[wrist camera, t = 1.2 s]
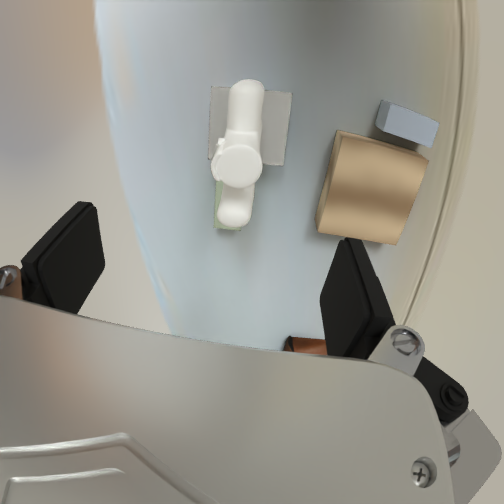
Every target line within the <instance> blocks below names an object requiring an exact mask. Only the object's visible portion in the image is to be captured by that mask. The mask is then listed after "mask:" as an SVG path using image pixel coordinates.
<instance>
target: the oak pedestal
mask: <svg viewBox="0 0 504 504" xmlns="http://www.w3.org/2000/svg"><path fill="white" fill-rule="evenodd" d="M428 162H429V161H428V160H427V159H425V158H424V157H423V156H422V155H420V154H419V153H418V152H416V151H412V150H409V149H406V148H403V147H400V146H396V145H393V144H390V143H386V142H383V141H379V140H375V139H372V138H368V137H364V136H360V135H356V134H352V133H348V132H344V131H340V130H337V132H336V136H335V141H334V145H333V149H332V153H331V157H330V161H329V165H328V169H327V173H326V177H325V181H324V185H323V189H322V193H321V197H320V201H319V204H318V208H317V212H316V215H315V222H316V227H317V231H318V232H320V233H326V234H332V235H338V236H344V237H350V238H356V239H362V240H368V241H374V242H379V243H385V244H391V245H396V244H397V242H398V240H399V237H400V235H401V233H402V230H403V228H404V226H405V223H406V221H407V218H408V216H409V213H410V211H411V208H412V206H413V203H414V201H415V198H416V195H417V193H418V190H419V187H420V185H421V182H422V179H423V176H424V173H425V170H426V168H427V165H428Z"/></svg>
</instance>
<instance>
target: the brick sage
mask: <svg viewBox="0 0 504 504" xmlns="http://www.w3.org/2000/svg"><path fill="white" fill-rule="evenodd" d="M223 184H224V183H223V182H222V181H216V192H215V211H214V228H220V229H229V230H237V231H240V230H241V227H237V228H233V227H228V226H225V225H223V224H221V223H220V222H219V220H218V218H217V210H218V207H219V204H220V200H221V195H222V190H223Z"/></svg>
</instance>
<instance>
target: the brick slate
mask: <svg viewBox="0 0 504 504" xmlns="http://www.w3.org/2000/svg"><path fill="white" fill-rule="evenodd" d="M375 126H377V127H378V128H380V129H381V130H382V131H384V132H387V133H390V134H393V135H396V136H399V137H402V138H405V139H408V140H411V141H413V142H416V143H419V144H421V145H424V146H427V147H429V148H432V145H433V142H434V139H435V136H436V133H437V129H438V126H439V122H437V121H435V120H433V119H431V118H429V117H426V116H424V115H422V114H419V113H417V112H414V111H412V110H409V109H406V108H404V107H401V106H398V105H396V104H393V103H390V102H387V101H384V100H381V104H380V107H379V111H378V115H377V118H376V122H375Z"/></svg>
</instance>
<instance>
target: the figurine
mask: <svg viewBox="0 0 504 504" xmlns="http://www.w3.org/2000/svg"><path fill="white" fill-rule="evenodd" d="M291 101H292V93H288V92H279V91H270V90H264V86H263V84H262V83H260V82H259V81H256V80H252V79H245V80H241V81H239V82H237V83H236V84H234V85H233V86H232V87H211V100H210V122H209V148H208V159H209V160H212V162H211V172H212V175H213V177H214V179H215V180H216V181H222V182H223V183H224V184H223V190H222V195H221V200H220V204H219V207H218V210H217V218H218V220H219V222H220V223H221V224H223V225H225V226H228V227H233V228H237V227H242V226H245V225H246V224H247V223H248V222H249V221H250V218H251V213H252V206H253V200H254V192H255V182H256V181H257V180H258V178H259V177H260V175H261V173H262V164H267V165H276V166H283V164H284V156H285V149H286V141H287V133H288V125H289V117H290V109H291Z"/></svg>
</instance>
